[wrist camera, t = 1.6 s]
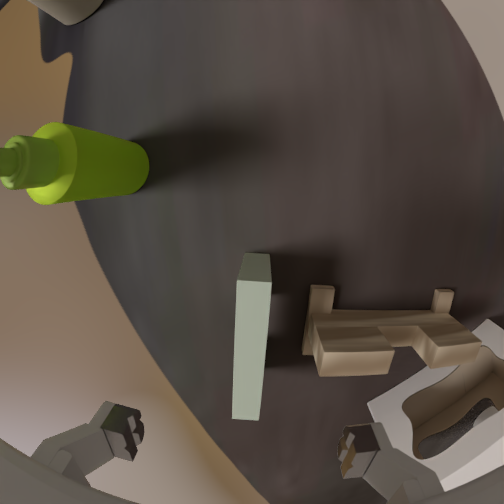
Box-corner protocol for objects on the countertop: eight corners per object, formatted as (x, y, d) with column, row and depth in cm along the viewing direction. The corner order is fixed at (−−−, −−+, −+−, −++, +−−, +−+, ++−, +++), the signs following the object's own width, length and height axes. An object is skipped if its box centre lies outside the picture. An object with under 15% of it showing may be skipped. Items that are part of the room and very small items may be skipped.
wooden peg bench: (310, 284, 30) (327, 322, 22) (449, 289, 30) (491, 317, 21) (301, 349, 32) (311, 399, 23) (433, 345, 32) (466, 382, 23)
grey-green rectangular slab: (244, 252, 30) (237, 280, 21) (269, 254, 30) (271, 282, 21) (239, 366, 33) (232, 418, 24) (260, 368, 33) (258, 420, 24)
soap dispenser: (89, 180, 29) (-58, 192, 9) (124, 131, 27) (-21, 91, 8) (122, 213, 29) (-26, 255, 10) (160, 163, 28) (14, 142, 9)
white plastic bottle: (496, 467, 24) (500, 456, 23) (472, 431, 36) (472, 417, 35) (520, 448, 24) (525, 435, 23) (494, 414, 35) (495, 400, 34)
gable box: (488, 316, 31) (611, 419, 3) (494, 370, 33) (579, 466, 5) (364, 402, 34) (425, 577, 7) (388, 443, 36) (435, 575, 9)
